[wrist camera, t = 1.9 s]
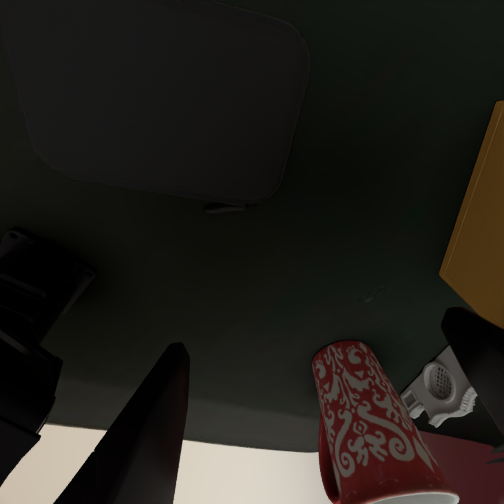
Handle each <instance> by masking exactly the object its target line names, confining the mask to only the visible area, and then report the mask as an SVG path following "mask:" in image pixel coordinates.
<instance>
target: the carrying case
mask: <svg viewBox="0 0 504 504" xmlns="http://www.w3.org/2000/svg"><path fill="white" fill-rule="evenodd" d="M0 36H1V39H2V43H3V47H4V51H5V54H6V58H7V62H8V66H9V69H10V73H11V77H12V81H13V85H14V88H15V92H16V96H17V100H18V104H19V108H20V112H21V115H22V119H23V123H24V127H25V131H26V135H27V138H28V141H29V143H30V145H31V147H32V148H33V150H34V151H35V153H36V154H37V155H38V156H39V157H40V159H41V160H42V161H44V162H45V163H46V164H47V165H48V166H49V167H51V168H52V169H54V170H55V171H57V172H59V173H61V174H63V175H66V176H69V177H70V179H71V180H73V181H84V182H91V183H97V184H103V185H110V186H116V187H122V188H129V189H135V190H141V191H148V192H154V193H161V194H167V195H173V196H180V197H186V198H192V199H199V200H205V201H211V202H218V203H215V204H209V205H206V206H205V207H204V208H203V211H204V212H206V213H211V214H215V213H224V212H233V211H244V210H246V208H249V207H256V206H257V205H259V204H258V203H259V202H261V201H264V200H265V199H267V198H269V197H270V196H271V195H272V194H273V193H274V192H275V191H276V190H277V189H278V188H279V186H280V184H281V182H282V179H283V175H284V172H285V168H286V164H287V160H288V156H289V153H290V149H291V145H292V141H293V137H294V133H295V130H296V126H297V122H298V118H299V114H300V111H301V107H302V103H303V99H304V95H305V91H306V88H307V84H308V80H309V76H310V70H311V62H310V54H309V50H308V47H307V44H306V42H305V40H304V38H303V36H302V35H301V34H300V32H299V31H298V30H297V29H296V28H295V27H294V26H293V25H292V24H290V23H288V22H286V21H284V20H281V19H278V18H274V17H271V16H268V15H264V14H261V13H257V12H253V11H249V10H246V9H242V8H238V7H234V6H231V5H227V4H223V3H220V2H216V1H212V0H0Z"/></svg>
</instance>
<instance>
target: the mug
mask: <svg viewBox="0 0 504 504" xmlns="http://www.w3.org/2000/svg"><path fill="white" fill-rule="evenodd" d="M312 368H313V373H314V378H315V382H316V387H317V392H318V397H319V401H320V406H321V414H320V426H319V465H320V472H321V477H322V482H323V485H324V489H325V491H326V494H327V496H328V498H329V499H330V501H331V502H332V503H333V504H457V503H458V502H459V496H458V494H457V493H456V492H455V491H454V490H453V488H452V487H451V486H450V485H449V483H448V481H447V480H446V478H445V476H444V475H443V473H442V472H441V470H440V468H439V466H438V465H437V463H436V461H435V459H434V458H433V456H432V454H431V452H430V450H429V449H428V447H427V445H426V443H425V442H424V440H423V438H422V437H421V435H420V433H419V432H418V430H417V428H416V426H415V425H414V423H413V421H412V419H411V418H410V416H409V414H408V413H407V411H406V409H405V407H404V405H403V404H402V402H401V400H400V398H399V397H398V395H397V393H396V392H395V390H394V388H393V387H392V385H391V383H390V381H389V380H388V378H387V376H386V375H385V373H384V371H383V369H382V368H381V366H380V364H379V362H378V361H377V359H376V357H375V355H374V354H373V352H372V350H371V349H370V348H369V347H368V346H367V345H366V344H364V343H362V342H359V341H340V342H336V343H333V344H331V345H328V346H326V347H325V348H323V349H322V350H320V351H319V352H318V353H317V354H316V355H315V357H314V359H313V361H312Z"/></svg>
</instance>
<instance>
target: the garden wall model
mask: <svg viewBox="0 0 504 504" xmlns="http://www.w3.org/2000/svg"><path fill="white" fill-rule="evenodd" d="M438 368H440V371H439V370H438ZM441 369H443V373H442V372H441ZM444 371H445V372H446V374H444ZM438 372H440V374H439V375H438ZM441 373H442V374H443V377H442V376H441ZM435 374H436V377H435ZM447 374H448V375H447ZM437 375H438V376H439V379H438V378H437ZM444 375H446V379H445V378H444ZM447 377H449V378H448V380H447ZM435 378H436V381H435ZM441 378H442V381H441V380H440V379H441ZM444 379H445V383H444ZM437 380H439V383H438V382H437ZM440 381H441V382H442V385H441V384H440ZM447 381H448V384H447ZM450 381H451V382H450ZM443 383H444V384H445V386H443ZM450 383H451V386H450V385H449V384H450ZM437 384H439V386H437ZM440 385H441V386H442V389H441V388H440ZM446 386H448V388H446ZM443 387H444V388H445V391H444V390H443ZM449 387H451V390H450V389H449ZM440 389H441V392H440ZM446 389H447V392H446ZM443 391H444V394H443ZM449 391H451V394H449ZM446 393H447V396H446ZM449 395H450V396H449ZM400 396H401V399H402V401H403V403H404V405H405V407H406V409H407V411H409V413H408V414H409V416H410V417H412V418H414V419H415V418H416V417H419V415H420V413H422V411H423V410H426V412H427V414H428V416H429V417H430V420H429V422H428V423H429V424H432V425H434V426H435V427H438V426H439V425H440V424H441V423H442V422H443V421H444V420H445V419H447V418H449V417H461V416H464V415H466V414H467V413H470V412H472V411H473V410H471V409H472V408H473V407H472V406H473V405H475V404H474V403H473V402H475V401H474V399H476V398H475V396H477V393H476V392H475V390H474V389H473V387H472V386H471V384H470V383H469V381H468V379H467V378H466V376H465V374H464V372H463V371H462V369H461V367H460V365H459V363H458V361H457V359H456V357H455V355H454V353H453V351H452V349H451V347H450V346H448V347H447V348H446V349H445V350H444V351H443V352H442V353H441V354H440V355H439V356H438V357H437V358H436V359H435V360H434V361H433V362H431V363H428V364H427V365H426V366H425V367H424V369H423V372H422V373H421V374H420V375H419V376H418V377H417V378H416V379H415V381H414V382H413V383H412V384H411V385H410V386H409V387H408V388H407V389H406V390H405V391H404V392H403V393H402V394H401V395H400ZM448 396H449V397H448ZM446 397H447V398H446Z"/></svg>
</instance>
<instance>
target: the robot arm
mask: <svg viewBox="0 0 504 504" xmlns="http://www.w3.org/2000/svg"><path fill="white" fill-rule="evenodd" d="M15 234H16V235H17V236H16V235H15ZM89 272H90V273H89ZM96 274H97V270H96V269H95V268H93V267H92V266H90V265H88V264H86V263H84V262H82V261H80V260H78V259H76V258H74V257H72V256H71V255H69V254H67V253H65V252H63V251H61V250H59V249H57V248H55V247H53V246H52V245H50V244H48V243H46V242H44V241H42V240H40V239H38V238H36V237H34V236H33V235H31V234H29V233H27V232H25V231H23V230H21V229H19V228H11V229H10V230H8V231H7V232H6V234H5V236H4V238H3V240H2V242H1V244H0V487H1V485H2V484H3V482H4V481H5V479H6V478H7V476H8V475H9V474H10V473H11V471H12V470H13V469H14V468H15V466H16V465H17V464H18V463H19V461H20V460H21V458H23V457H24V456H25V454H26V453H28V452H29V450H30V449H31V448H32V447H33V446H34V445H35V444H36V443H37V442H38V441H39V440H40V438H41V435H39V434H38V433H39V432H40V430H41V429H42V427H43V426H44V424H45V422H46V420H47V418H48V416H49V414H50V412H51V409H52V407H53V405H54V403H55V398H56V397H55V396H54V395H55V391H56V387H57V383H58V379H59V376H60V372H61V368H62V364H63V360H61V359H60V358H59V357H55V356H53V355H52V354H51V353H49V352H48V351H47V350H45V349H44V348H43V347H41V346H40V345H39V344H40V343H41V341H42V340H43V339H44V337H45V336H46V334H47V333H48V331H49V330H50V329H51V327H52V326H53V324H54V323H55V322H56V320H57V319H58V317H59V316H60V314H65V313H67V311H68V310H69V309H70V308H71V306H72V305H73V304H74V302H75V301H76V300H77V299H78V297H79V296H80V295H81V294H82V292H83V291H84V290H85V288H86V287H87V286H88V285H89V283H90V282H91V281H92V280H93V278H94V277H95V276H96ZM441 328H442V331H443V333H444V335H445V337H446V339H447V341H448V343H449V345H450V347H451V349H452V351H453V353H454V355H455V357H456V359H457V361H458V363H459V365H460V367H461V369H462V371H463V372H464V374H465V376H466V378H467V379H468V381H469V383H470V384H471V386H472V387H473V389H474V390H475V392H476V393H477V395H478V397H479V398H480V400H481V401H482V403H483V404H484V406H485V408H486V409H487V411H488V412H489V414H490V415H491V417H492V419H493V420H494V422H495V423H496V425H497V426H498V428H499V430H500V431H501V433H502V434H503V436H504V329H503V328H501V327H499V326H497V325H495V324H494V323H492V322H490V321H488V320H486V319H484V318H483V317H481V316H479V315H477V314H475V313H473V312H472V311H470V310H468V309H466V308H464V307H452V308H448V309H447V310H446V313H445V315H444V318H443V320H442V323H441ZM189 371H190V357H189V354H188V352H187V350H186V348H185V346H184V344H183V343H182V342H178V343H172V344H170V345H169V346H168V347H167V349H166V350H165V352H164V353H163V354H162V356H161V357H160V359H159V360H158V361H157V363H156V364H155V365H154V367H153V368H152V370H151V371H150V372H149V374H148V375H147V377H146V378H145V379H144V381H143V382H142V384H141V385H140V386H139V388H138V389H137V390H136V392H135V393H134V395H133V396H132V397H131V399H130V400H129V402H128V403H127V404H126V406H125V407H124V409H123V410H122V411H121V413H120V414H119V415H118V417H117V418H116V420H115V421H114V422H113V424H112V425H111V427H110V428H109V429H108V431H107V432H106V434H105V435H104V436H103V438H102V439H101V440H100V442H99V443H98V445H97V446H96V447H95V449H94V452H92V453H91V454H90V456H89V457H88V458H87V460H86V461H85V463H84V464H83V465H82V467H81V468H80V469H79V471H78V472H77V473H76V475H75V476H74V478H73V479H72V480H71V482H70V483H69V484H68V486H67V487H66V488H65V489H64V491H63V492H62V493H61V494H60V496H59V497H58V498H57V499H56V501H55V502H54V503H53V504H173V500H174V494H175V487H176V480H177V474H178V468H179V461H180V454H181V448H182V441H183V435H184V428H185V422H186V415H187V408H188V392H189Z"/></svg>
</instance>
